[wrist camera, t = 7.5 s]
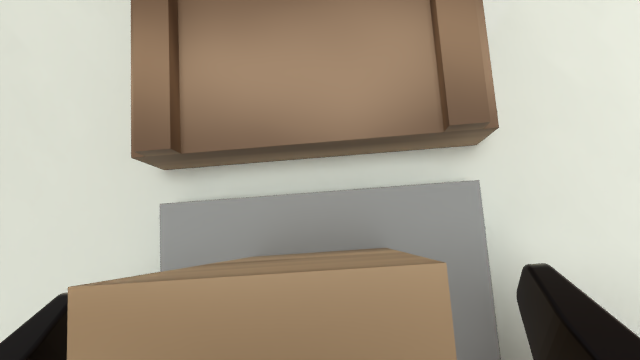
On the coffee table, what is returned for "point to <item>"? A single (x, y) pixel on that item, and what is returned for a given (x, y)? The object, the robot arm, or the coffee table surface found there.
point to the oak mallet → (270, 310)
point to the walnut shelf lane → (305, 79)
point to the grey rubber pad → (352, 239)
